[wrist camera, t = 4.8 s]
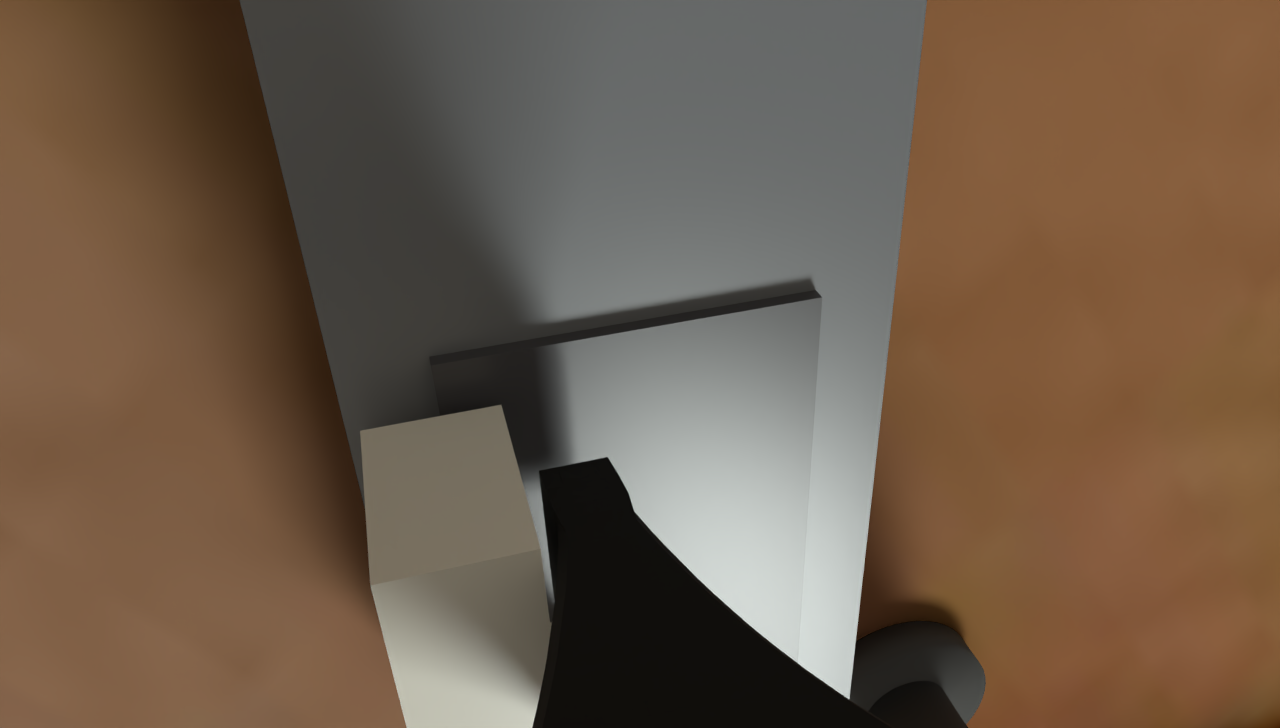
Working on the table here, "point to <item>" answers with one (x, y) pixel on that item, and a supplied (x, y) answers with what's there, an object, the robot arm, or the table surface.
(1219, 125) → the table surface
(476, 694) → the block
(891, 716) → the cord stand
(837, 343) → the block
